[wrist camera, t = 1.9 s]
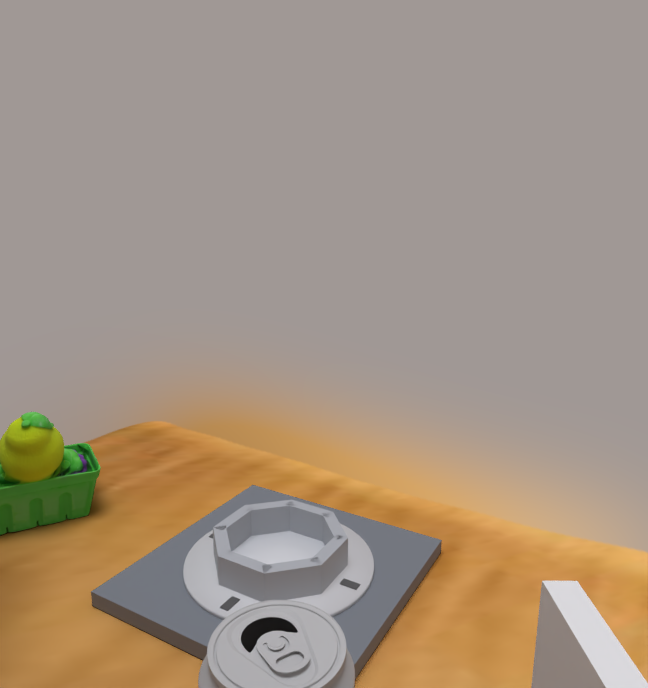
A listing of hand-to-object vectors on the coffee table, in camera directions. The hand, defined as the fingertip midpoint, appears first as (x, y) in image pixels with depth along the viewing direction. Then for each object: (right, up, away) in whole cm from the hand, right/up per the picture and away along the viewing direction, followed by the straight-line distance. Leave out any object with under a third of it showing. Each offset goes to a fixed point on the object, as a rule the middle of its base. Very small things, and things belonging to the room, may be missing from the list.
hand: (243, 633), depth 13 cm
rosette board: (-2, -12, +35) cm, 37 cm away
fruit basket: (-25, -10, +44) cm, 52 cm away
